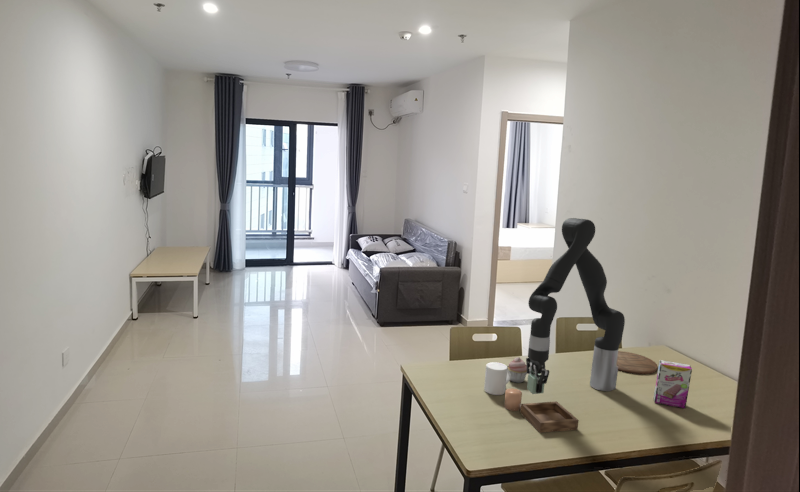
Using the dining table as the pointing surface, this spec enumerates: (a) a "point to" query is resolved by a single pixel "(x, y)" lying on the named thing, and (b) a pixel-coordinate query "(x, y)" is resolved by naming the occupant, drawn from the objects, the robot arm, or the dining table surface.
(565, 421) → the tray
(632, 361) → the trivet
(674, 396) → the candy bar box
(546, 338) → the robot arm
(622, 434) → the dining table surface
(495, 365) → the mug
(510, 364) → the cupcake
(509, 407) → the peach capsule shape
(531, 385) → the sage block
